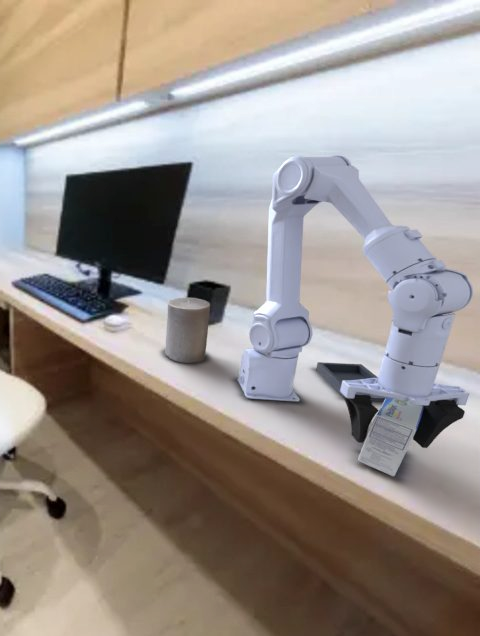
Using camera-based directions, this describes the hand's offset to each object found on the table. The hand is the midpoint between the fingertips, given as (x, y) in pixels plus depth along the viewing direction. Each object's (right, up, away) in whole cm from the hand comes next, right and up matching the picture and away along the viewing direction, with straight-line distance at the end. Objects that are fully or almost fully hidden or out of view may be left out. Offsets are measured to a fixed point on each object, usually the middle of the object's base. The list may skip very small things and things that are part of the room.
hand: (387, 441), depth 57 cm
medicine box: (0, -3, +1) cm, 3 cm away
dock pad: (+12, +5, +22) cm, 25 cm away
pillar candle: (-17, +9, +38) cm, 43 cm away
